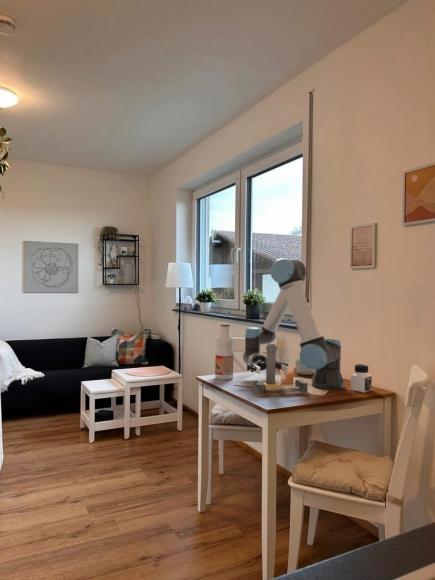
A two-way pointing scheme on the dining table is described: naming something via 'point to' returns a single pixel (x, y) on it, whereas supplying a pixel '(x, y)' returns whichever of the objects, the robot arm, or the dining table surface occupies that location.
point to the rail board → (281, 390)
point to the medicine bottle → (361, 379)
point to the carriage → (271, 368)
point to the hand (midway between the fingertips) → (273, 370)
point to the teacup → (303, 368)
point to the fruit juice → (224, 354)
